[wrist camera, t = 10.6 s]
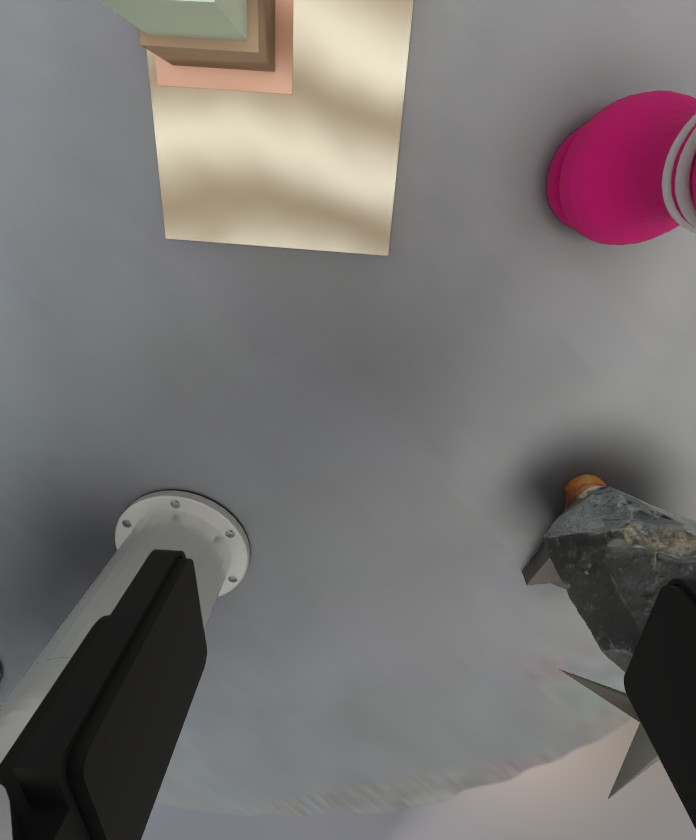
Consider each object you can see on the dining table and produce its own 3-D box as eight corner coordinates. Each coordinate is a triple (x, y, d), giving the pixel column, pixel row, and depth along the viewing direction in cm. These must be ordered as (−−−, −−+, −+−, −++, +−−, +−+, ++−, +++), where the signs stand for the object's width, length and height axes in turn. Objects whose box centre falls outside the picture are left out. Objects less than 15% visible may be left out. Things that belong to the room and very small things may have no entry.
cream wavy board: (387, 253, 31) (388, 255, 30) (171, 237, 32) (165, 238, 31) (422, -91, 24) (423, -103, 23) (139, -106, 24) (128, -119, 23)
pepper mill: (534, 124, 28) (814, -5, 10) (664, 92, 27) (1247, -122, 9) (539, 249, 31) (761, 325, 13) (656, 224, 30) (1077, 269, 12)
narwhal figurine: (715, 478, 37) (970, 694, 21) (596, 601, 44) (722, 837, 28) (563, 410, 36) (715, 589, 19) (463, 548, 42) (515, 768, 26)
